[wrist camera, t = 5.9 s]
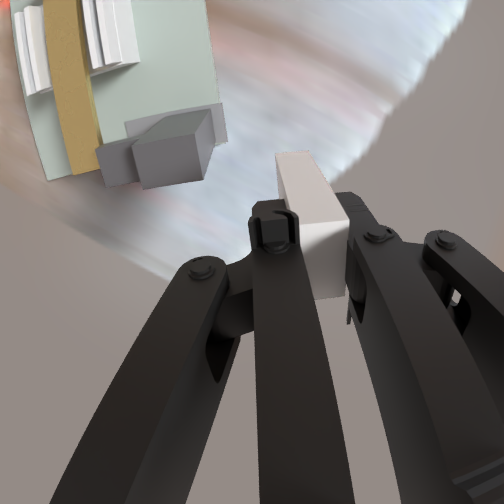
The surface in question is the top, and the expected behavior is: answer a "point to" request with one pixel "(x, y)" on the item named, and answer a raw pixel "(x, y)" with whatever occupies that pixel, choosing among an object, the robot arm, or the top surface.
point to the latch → (161, 153)
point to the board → (121, 69)
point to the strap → (72, 83)
